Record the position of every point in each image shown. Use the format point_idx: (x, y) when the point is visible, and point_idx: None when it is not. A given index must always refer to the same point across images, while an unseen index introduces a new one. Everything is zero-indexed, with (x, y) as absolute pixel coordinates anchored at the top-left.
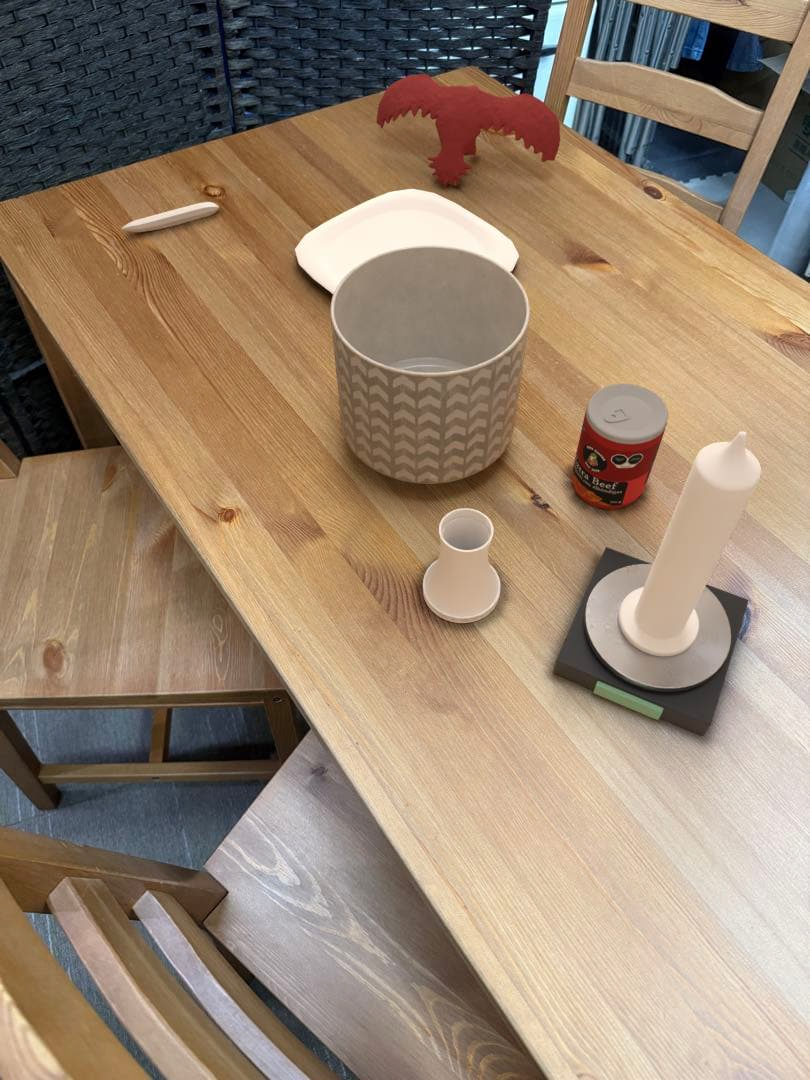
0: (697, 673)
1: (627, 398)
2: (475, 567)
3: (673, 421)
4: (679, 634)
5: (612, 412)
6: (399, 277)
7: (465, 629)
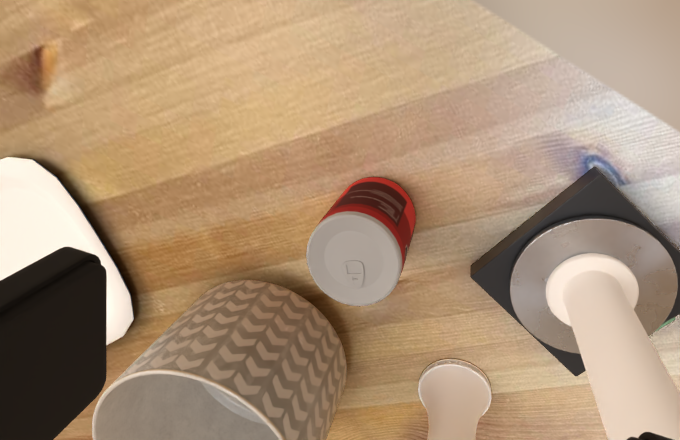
0: (666, 285)
1: (330, 248)
2: (475, 437)
3: (311, 98)
4: (621, 287)
5: (348, 276)
6: (122, 424)
7: (495, 401)
